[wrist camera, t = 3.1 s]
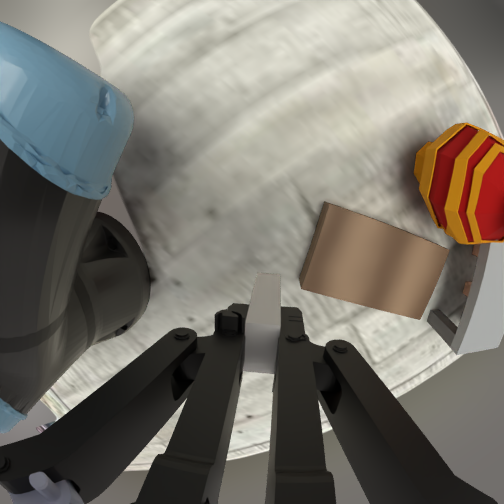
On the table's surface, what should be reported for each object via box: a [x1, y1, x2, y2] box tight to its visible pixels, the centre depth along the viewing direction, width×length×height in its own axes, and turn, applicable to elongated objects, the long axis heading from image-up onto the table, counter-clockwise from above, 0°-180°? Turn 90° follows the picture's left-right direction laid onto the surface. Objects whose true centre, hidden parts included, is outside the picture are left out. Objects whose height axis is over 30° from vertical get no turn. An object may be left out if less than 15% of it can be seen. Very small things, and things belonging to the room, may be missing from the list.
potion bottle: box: [414, 123, 504, 244], centre depth 15 cm, size 10×10×15 cm
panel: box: [299, 202, 450, 320], centre depth 25 cm, size 14×8×3 cm, turn 75°
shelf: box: [427, 242, 504, 355], centre depth 21 cm, size 8×16×8 cm, turn 177°
